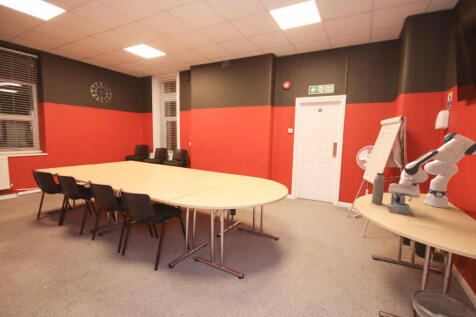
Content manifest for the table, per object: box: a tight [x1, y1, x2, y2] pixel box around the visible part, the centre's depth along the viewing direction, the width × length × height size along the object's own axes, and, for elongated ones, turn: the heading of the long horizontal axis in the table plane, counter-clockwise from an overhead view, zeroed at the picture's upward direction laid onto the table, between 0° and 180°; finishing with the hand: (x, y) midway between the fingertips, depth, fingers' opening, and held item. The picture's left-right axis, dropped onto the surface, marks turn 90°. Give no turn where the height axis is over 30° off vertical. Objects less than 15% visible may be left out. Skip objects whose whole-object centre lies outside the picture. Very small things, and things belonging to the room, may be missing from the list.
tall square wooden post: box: [399, 193, 406, 205], centre depth 175 cm, size 4×4×13 cm
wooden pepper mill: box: [371, 172, 386, 206], centre depth 194 cm, size 8×8×28 cm
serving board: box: [387, 205, 416, 218], centre depth 176 cm, size 20×16×2 cm
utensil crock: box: [392, 202, 411, 214], centre depth 175 cm, size 10×10×6 cm
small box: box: [390, 193, 406, 207], centre depth 190 cm, size 11×6×10 cm, turn 168°
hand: (402, 199), depth 174 cm, fingers open, 8 cm apart
